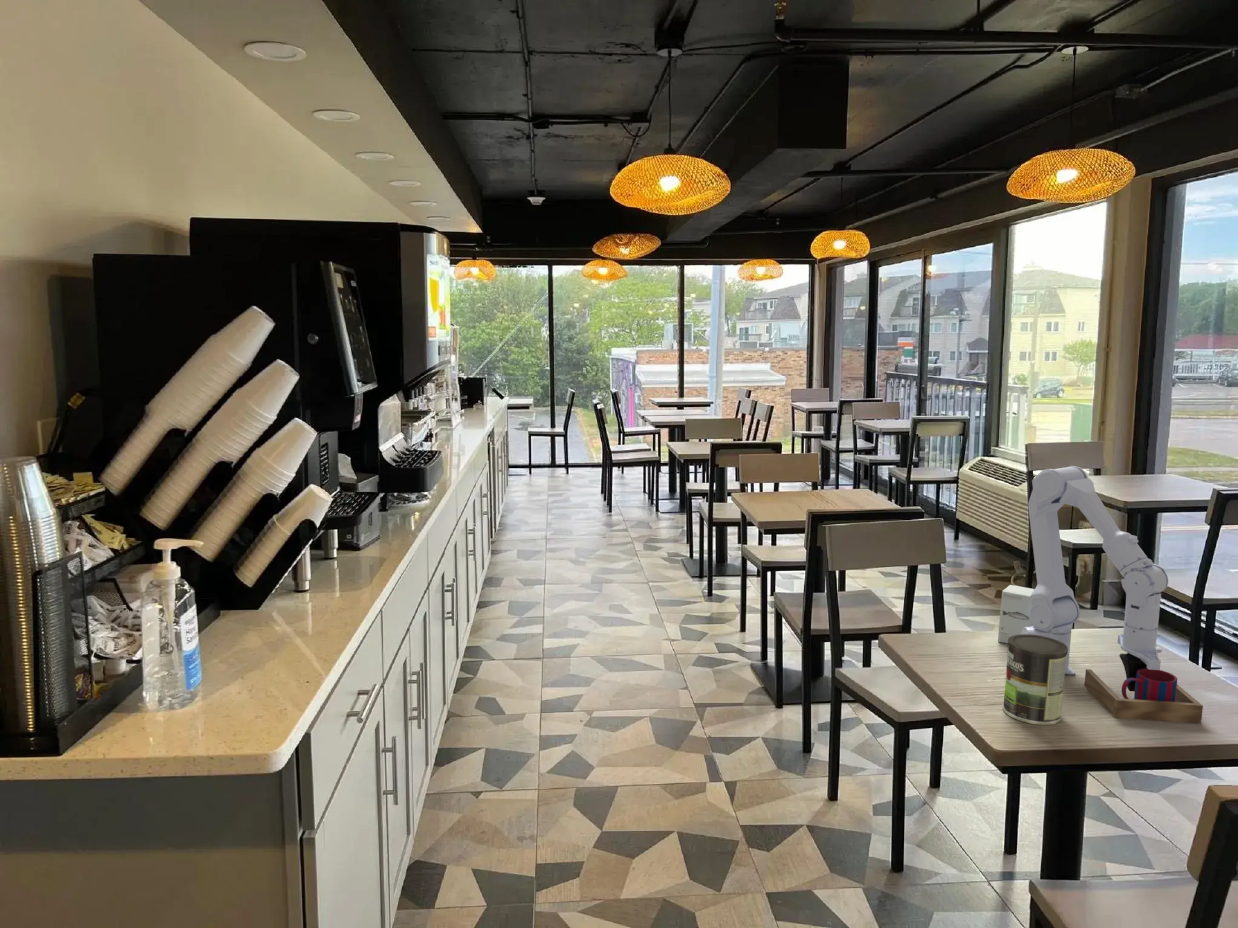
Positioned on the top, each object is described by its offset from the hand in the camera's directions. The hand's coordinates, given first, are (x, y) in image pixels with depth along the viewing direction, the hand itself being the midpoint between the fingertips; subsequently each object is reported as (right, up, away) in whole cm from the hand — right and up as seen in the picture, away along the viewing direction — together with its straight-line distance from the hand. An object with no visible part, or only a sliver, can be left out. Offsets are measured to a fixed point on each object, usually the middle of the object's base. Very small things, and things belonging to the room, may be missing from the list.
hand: (1134, 690), depth 173 cm
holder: (-1, -2, -3) cm, 3 cm away
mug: (-1, -2, -5) cm, 5 cm away
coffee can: (-24, -3, -7) cm, 25 cm away
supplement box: (-9, +3, +32) cm, 33 cm away
